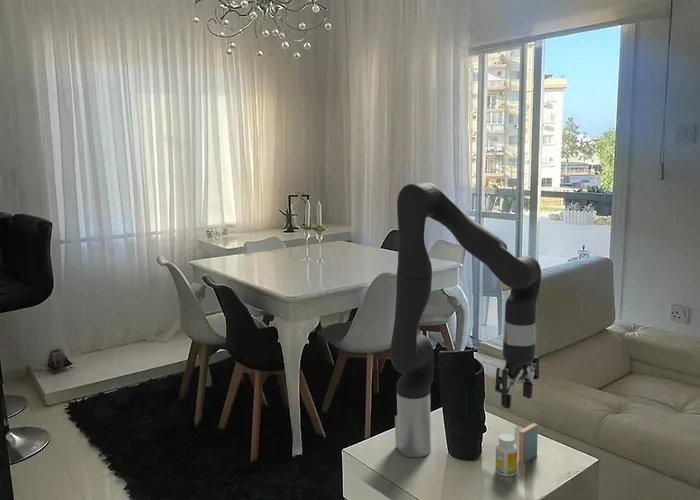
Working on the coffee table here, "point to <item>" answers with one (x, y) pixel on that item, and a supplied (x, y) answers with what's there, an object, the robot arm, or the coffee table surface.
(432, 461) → the coffee table surface
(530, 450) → the tile
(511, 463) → the supplement bottle
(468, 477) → the coffee table surface
